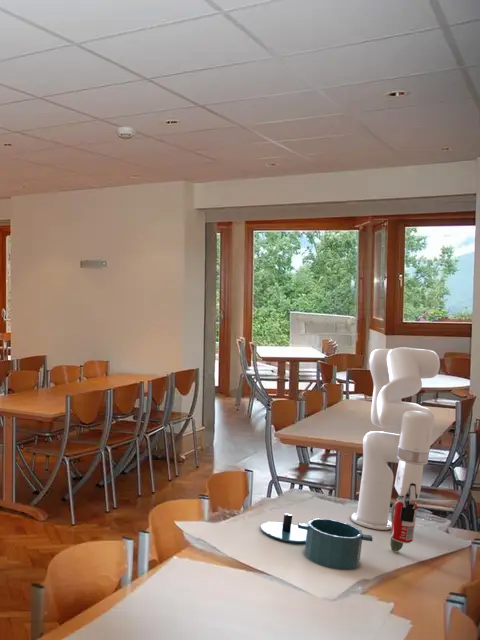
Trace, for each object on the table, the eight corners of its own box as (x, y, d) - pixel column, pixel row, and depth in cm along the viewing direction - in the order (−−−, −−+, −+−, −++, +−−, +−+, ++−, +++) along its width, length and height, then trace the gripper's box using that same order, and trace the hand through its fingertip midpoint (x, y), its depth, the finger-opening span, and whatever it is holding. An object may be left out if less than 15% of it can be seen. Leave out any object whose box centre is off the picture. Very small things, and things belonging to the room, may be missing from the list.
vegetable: (403, 556, 226) (412, 493, 224) (388, 554, 227) (396, 491, 224) (399, 550, 230) (407, 488, 228) (384, 548, 231) (392, 486, 229)
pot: (294, 543, 230) (297, 513, 229) (365, 556, 224) (368, 526, 223) (296, 561, 217) (300, 530, 216) (372, 576, 210) (376, 543, 209)
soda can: (394, 534, 215) (399, 494, 214) (414, 540, 212) (420, 500, 210) (387, 538, 212) (393, 498, 210) (408, 545, 208) (414, 504, 206)
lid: (260, 521, 247) (262, 502, 246) (310, 530, 242) (313, 510, 241) (260, 538, 233) (262, 517, 232) (314, 548, 228) (316, 527, 227)
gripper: (392, 445, 218) (384, 504, 220) (403, 461, 202) (394, 525, 204) (421, 449, 215) (413, 509, 218) (434, 466, 199) (425, 530, 201)
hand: (404, 516), depth 211 cm, fingers closed on soda can, 5 cm apart
